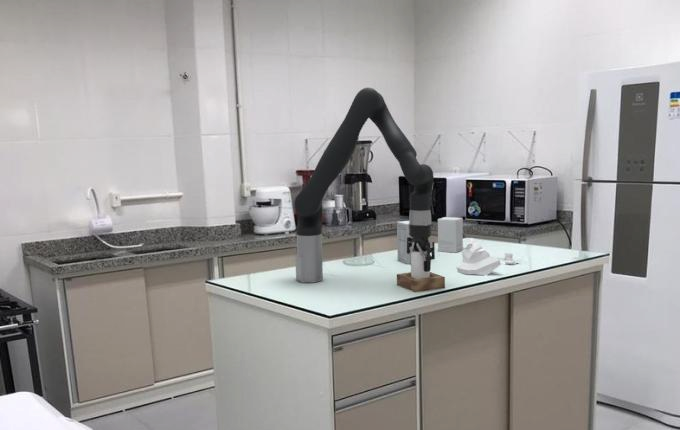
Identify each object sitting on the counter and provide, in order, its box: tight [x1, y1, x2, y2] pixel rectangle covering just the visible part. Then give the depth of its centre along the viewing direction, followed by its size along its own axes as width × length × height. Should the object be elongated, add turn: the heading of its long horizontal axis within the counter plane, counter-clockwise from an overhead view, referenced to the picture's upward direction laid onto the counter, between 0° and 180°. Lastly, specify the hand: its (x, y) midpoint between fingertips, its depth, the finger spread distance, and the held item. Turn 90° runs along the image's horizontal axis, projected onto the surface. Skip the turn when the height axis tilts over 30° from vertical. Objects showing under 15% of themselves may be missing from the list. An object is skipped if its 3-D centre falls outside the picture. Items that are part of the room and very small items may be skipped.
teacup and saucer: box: [500, 252, 516, 265], centre depth 242 cm, size 9×8×4 cm
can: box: [410, 249, 431, 279], centre depth 205 cm, size 6×6×12 cm
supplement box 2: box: [437, 216, 464, 254], centre depth 270 cm, size 9×9×15 cm
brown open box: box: [396, 271, 446, 293], centre depth 206 cm, size 12×12×4 cm
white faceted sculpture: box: [456, 237, 502, 276], centre depth 225 cm, size 12×15×14 cm
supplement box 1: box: [396, 220, 411, 265], centre depth 248 cm, size 10×9×17 cm
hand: (420, 269), depth 205 cm, fingers open, 8 cm apart
